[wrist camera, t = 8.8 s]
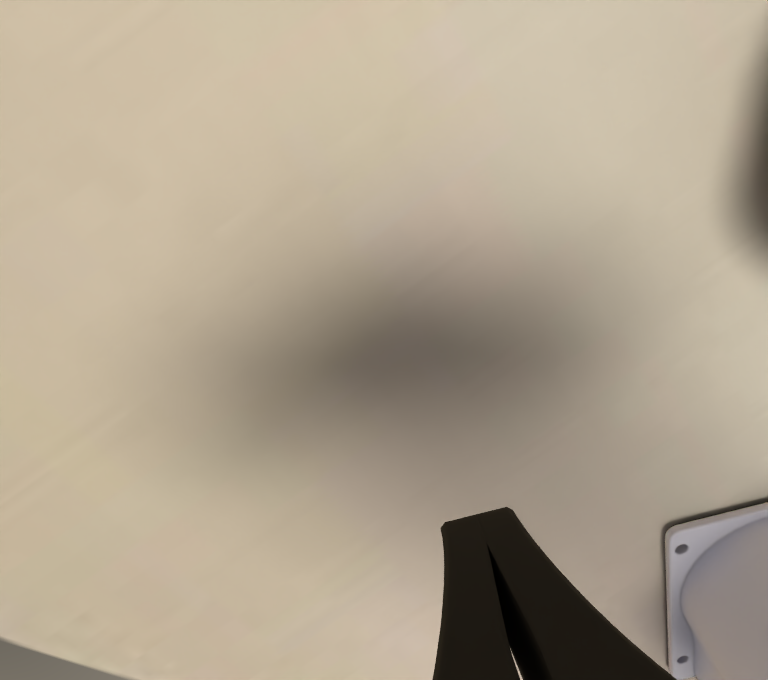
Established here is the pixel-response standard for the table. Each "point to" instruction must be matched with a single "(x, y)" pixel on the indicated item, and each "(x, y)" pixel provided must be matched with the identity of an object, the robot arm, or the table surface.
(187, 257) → the table surface
